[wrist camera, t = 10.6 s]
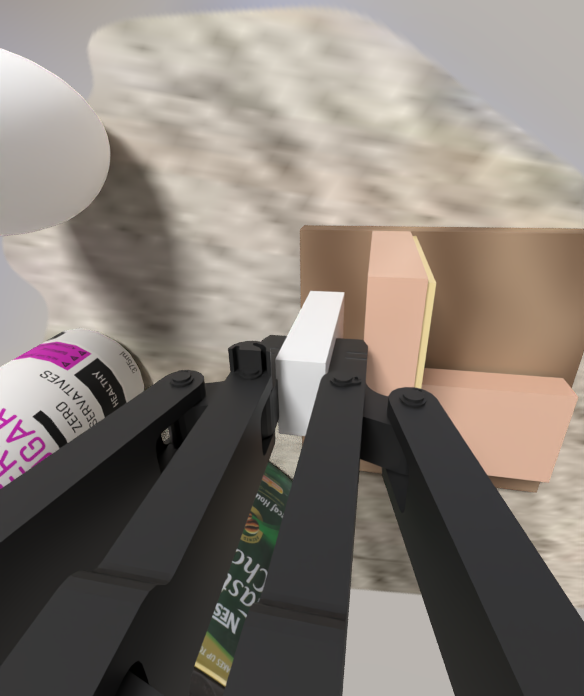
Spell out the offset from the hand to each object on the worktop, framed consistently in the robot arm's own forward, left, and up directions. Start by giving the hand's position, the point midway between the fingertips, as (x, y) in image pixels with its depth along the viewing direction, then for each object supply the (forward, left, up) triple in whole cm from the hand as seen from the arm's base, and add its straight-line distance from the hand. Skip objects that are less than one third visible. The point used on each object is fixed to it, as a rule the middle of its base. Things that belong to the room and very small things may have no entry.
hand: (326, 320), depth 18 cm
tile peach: (+3, 0, -6) cm, 7 cm away
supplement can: (-19, -9, -8) cm, 22 cm away
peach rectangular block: (+4, -8, -5) cm, 10 cm away
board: (+6, -6, -8) cm, 11 cm away
